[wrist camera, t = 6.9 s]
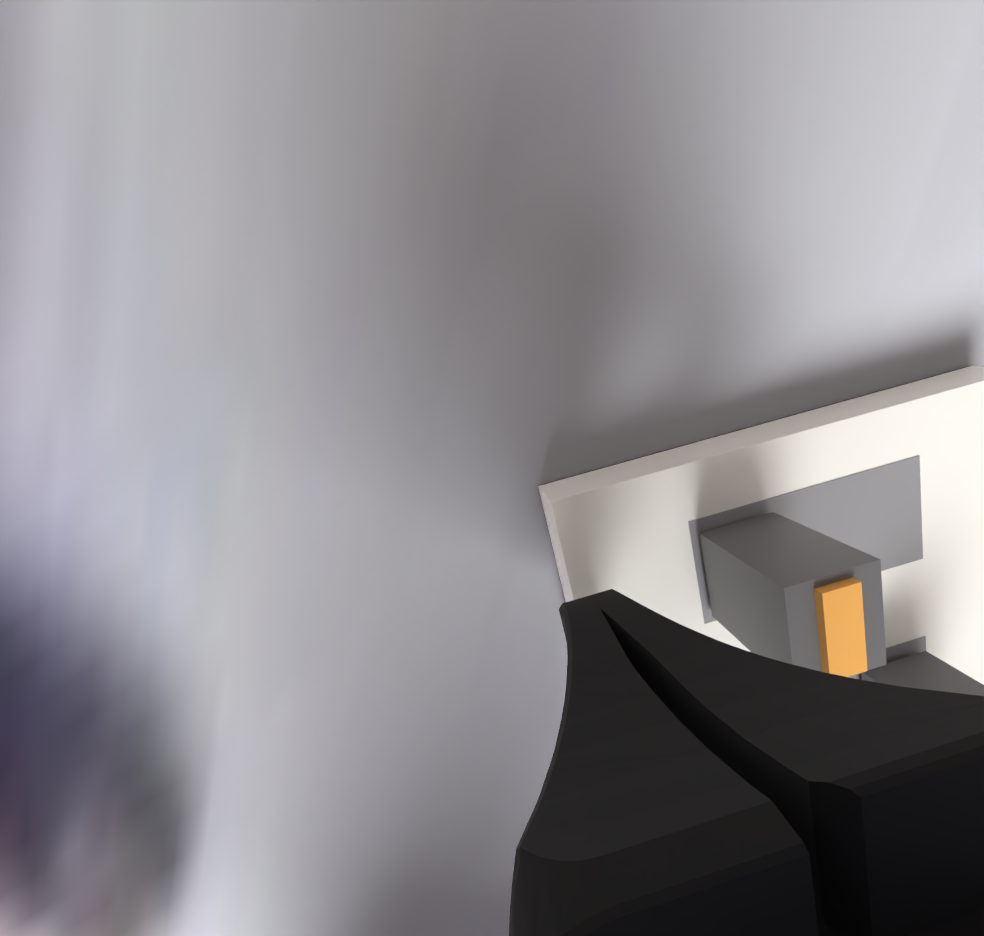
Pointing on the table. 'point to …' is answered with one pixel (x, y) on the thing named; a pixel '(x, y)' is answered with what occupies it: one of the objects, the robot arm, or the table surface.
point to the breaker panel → (808, 518)
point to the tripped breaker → (796, 594)
